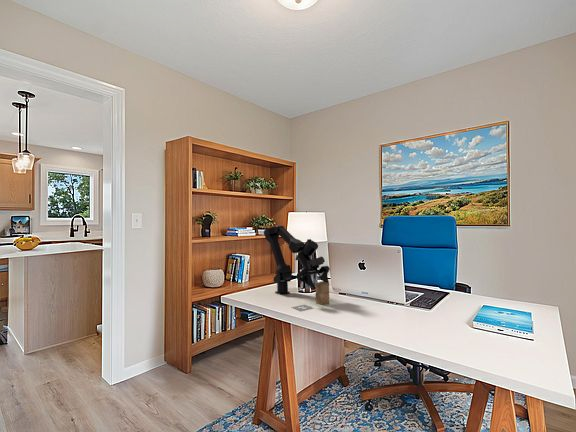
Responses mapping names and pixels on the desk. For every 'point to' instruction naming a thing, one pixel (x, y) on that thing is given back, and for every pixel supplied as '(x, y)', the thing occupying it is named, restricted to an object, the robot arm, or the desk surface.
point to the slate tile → (302, 308)
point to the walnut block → (322, 293)
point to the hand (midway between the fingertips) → (321, 286)
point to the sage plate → (322, 305)
